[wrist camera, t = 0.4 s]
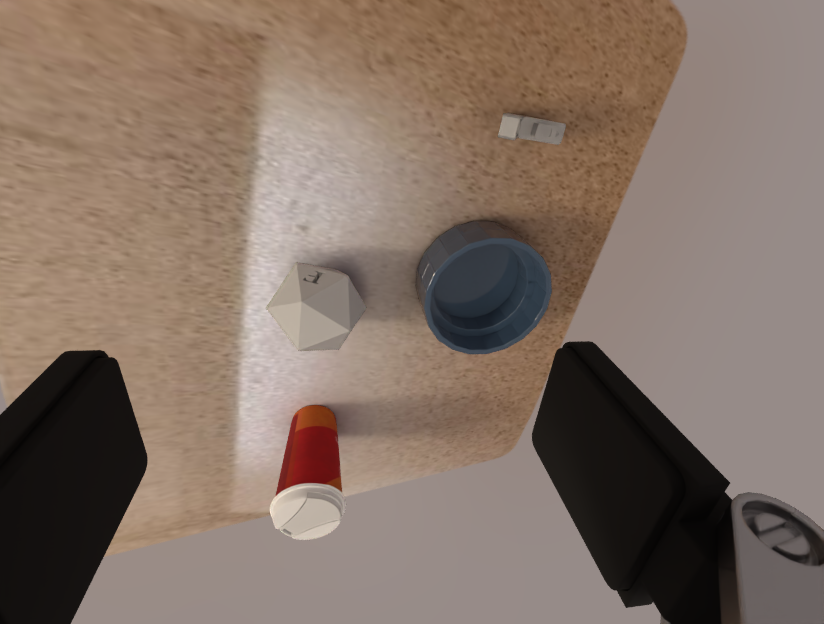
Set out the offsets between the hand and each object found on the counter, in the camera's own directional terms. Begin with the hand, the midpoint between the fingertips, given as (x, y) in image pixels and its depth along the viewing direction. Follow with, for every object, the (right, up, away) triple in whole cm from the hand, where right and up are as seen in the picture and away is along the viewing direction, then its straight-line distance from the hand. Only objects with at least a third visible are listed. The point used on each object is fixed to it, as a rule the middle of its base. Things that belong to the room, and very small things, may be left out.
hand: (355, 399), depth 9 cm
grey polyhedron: (-9, +4, +36) cm, 37 cm away
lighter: (+11, +20, +31) cm, 38 cm away
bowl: (+8, +6, +38) cm, 39 cm away
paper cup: (-11, -12, +45) cm, 48 cm away
